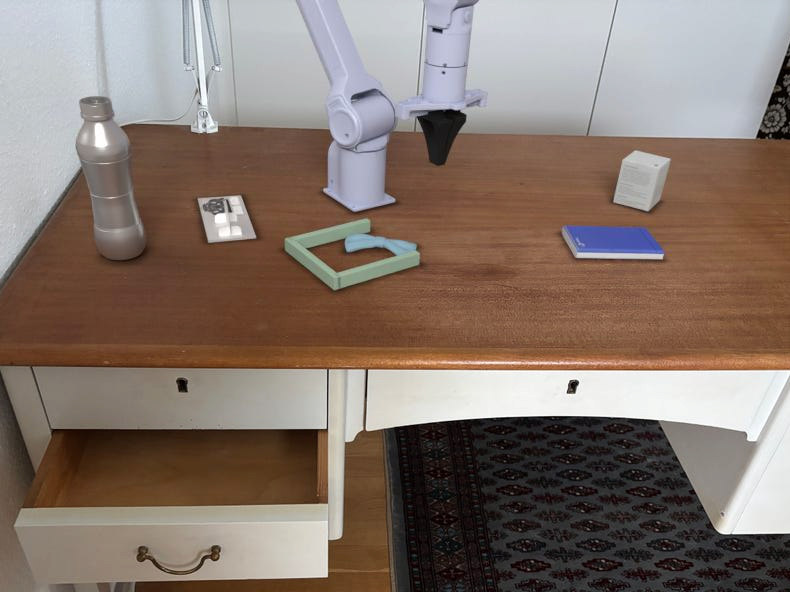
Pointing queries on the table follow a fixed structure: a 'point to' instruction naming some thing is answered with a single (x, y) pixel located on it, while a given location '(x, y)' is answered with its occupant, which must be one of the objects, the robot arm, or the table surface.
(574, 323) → the table surface
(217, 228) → the grey board with parts
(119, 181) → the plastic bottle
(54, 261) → the table surface
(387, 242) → the bow tie
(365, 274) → the bay
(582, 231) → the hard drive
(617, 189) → the product box
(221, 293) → the table surface
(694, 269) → the table surface
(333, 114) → the robot arm
